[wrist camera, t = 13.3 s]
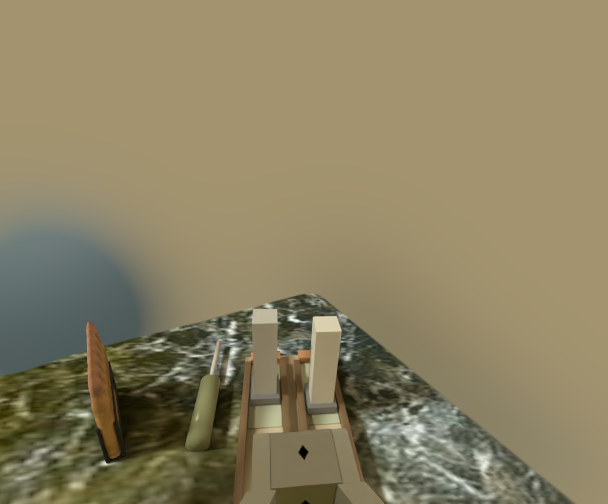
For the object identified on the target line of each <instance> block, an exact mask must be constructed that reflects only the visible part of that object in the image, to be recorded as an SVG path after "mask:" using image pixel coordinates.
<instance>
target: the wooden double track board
mask: <svg viewBox="0 0 608 504" xmlns="http://www.w3.org/2000/svg"><path fill="white" fill-rule="evenodd" d="M310 354H311V350H298V355H290V356H280V351H277V374H279V393H280V404H265V405H251V385H252V375H254V372H253V352H252V353H251V357H246V361H245V372H244V383H243V394H242V405H241V416H240V426H239V437H238V448H237V459H236V470H235V481H234V492H233V503H232V504H240V502H241V500H242V498H243V497H244V495H245V493H246V492H249V491H251V482H252V451H253V435H254V434H258V433H269V434H270V433H279V432H300V431H306V430H319V429H338V428H346V430H347V431H348V435H349V439H350V442H351V446H352V450H353V454H354V458H355V462H356V466H357V469H358V473H359V477H360V481H361V482H364V478H363V475H362V471H361V467H360V463H359V459H358V455H357V451H356V447H355V443H354V439H353V435H352V431H351V428H350V424H349V420H348V416H347V412H346V408H345V404H344V400H343V396H342V392H341V388H340V385H339V381H338V377H337V374H336V383H335V391H334V395H335V399H336V404H337V413H321V414H308V412H307V404H306V397H305V389H304V387H305V383H309V369H310Z"/></svg>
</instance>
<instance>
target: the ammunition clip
mask: <svg viewBox="0 0 608 504" xmlns="http://www.w3.org/2000/svg"><path fill="white" fill-rule="evenodd" d="M87 354H88V357H87V361H88V386H89V392H90V397H91V401H92V411H93V414H94V418H95V421H96V432H97V435H98V438H99V442H100V445H101V448H102V451H103V454H104V458H105V461H106V463H109V462H111V461H113V460H116V459H118V458H120V457H122V456H124V455H125V447H124V439H123V431H122V424H121V416H120V408H119V401H118V393H117V387H116V384H115V380H114V376H113V372H112V369H111V365H110V362H109V361H108V359H107V355H106V352H105V348H104V347H103V345H102V343H101V340H100V338H99V334H98V332H97V330H96V328H95V326H94V325H93V324H92V323H91V322H88V324H87Z"/></svg>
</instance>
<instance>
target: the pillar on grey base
mask: <svg viewBox="0 0 608 504" xmlns="http://www.w3.org/2000/svg"><path fill="white" fill-rule="evenodd" d="M252 333H253V372H254V375H252V385H251V405H265V404H280V393H279V374H277V309H253V321H252Z"/></svg>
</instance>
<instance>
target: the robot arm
mask: <svg viewBox="0 0 608 504" xmlns="http://www.w3.org/2000/svg"><path fill="white" fill-rule="evenodd" d="M240 504H385V503H384V502H383V501H382V500H381V499H380V498H379V497H378V495H377V494H376V493H375V492H374V491H373V490H372V489H371V487H370V486H369V485H368V484H367V483H366V482H361V481H360V477H359V473H358V469H357V466H356V462H355V458H354V454H353V450H352V446H351V442H350V439H349V435H348V431H347V430H346V428H338V429H319V430H306V431H300V432H279V433H270V434H269V433H258V434H254V435H253V451H252V482H251V491H249V492H246V493H245V495H244V497H243V498H242V500H241V502H240Z"/></svg>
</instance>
